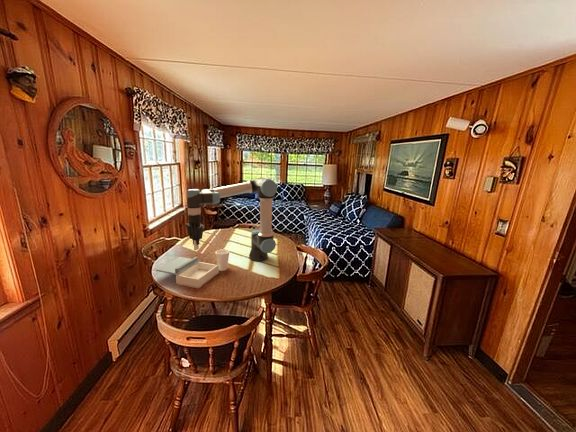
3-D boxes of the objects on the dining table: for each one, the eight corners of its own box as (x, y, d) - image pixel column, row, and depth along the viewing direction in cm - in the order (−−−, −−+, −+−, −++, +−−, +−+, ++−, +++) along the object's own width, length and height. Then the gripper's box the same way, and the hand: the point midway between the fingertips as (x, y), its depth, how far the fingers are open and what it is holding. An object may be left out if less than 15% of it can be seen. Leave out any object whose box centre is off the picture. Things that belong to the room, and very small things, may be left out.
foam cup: (213, 270, 169) (212, 252, 166) (221, 265, 177) (220, 248, 175) (224, 272, 166) (224, 255, 163) (232, 267, 174) (231, 250, 171)
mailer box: (218, 273, 165) (218, 265, 163) (198, 288, 144) (198, 279, 143) (198, 269, 169) (198, 261, 168) (176, 284, 148) (175, 275, 147)
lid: (199, 261, 167) (199, 256, 166) (176, 275, 147) (176, 269, 146) (179, 258, 171) (179, 253, 171) (155, 270, 151) (155, 265, 150)
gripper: (207, 213, 152) (208, 248, 157) (189, 211, 155) (191, 246, 160) (199, 216, 145) (201, 252, 150) (181, 214, 148) (184, 250, 153)
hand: (196, 249), depth 155 cm, fingers closed
